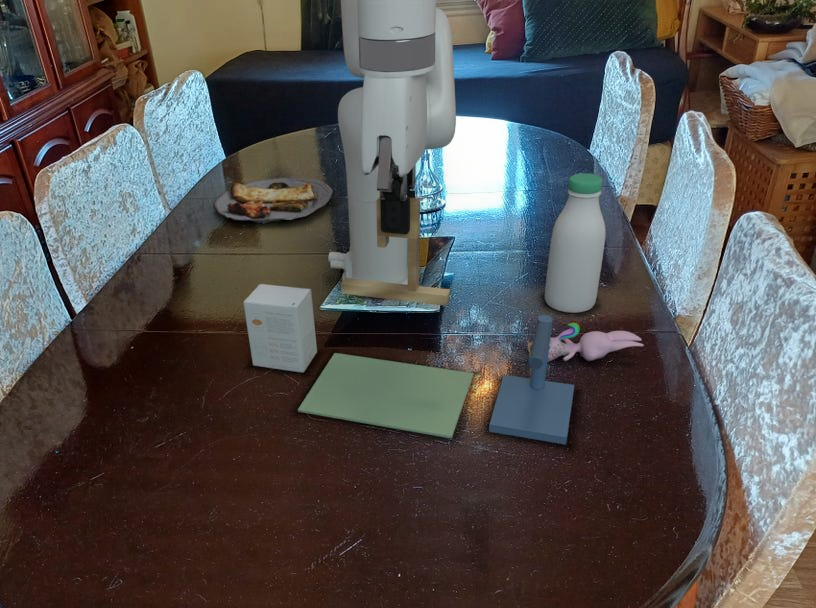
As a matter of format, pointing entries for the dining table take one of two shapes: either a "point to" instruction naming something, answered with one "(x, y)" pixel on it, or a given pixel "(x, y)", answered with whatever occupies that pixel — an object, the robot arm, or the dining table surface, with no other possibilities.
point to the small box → (281, 327)
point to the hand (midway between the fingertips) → (398, 227)
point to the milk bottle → (577, 248)
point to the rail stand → (534, 397)
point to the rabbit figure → (589, 343)
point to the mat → (389, 394)
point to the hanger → (413, 289)
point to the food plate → (273, 199)
